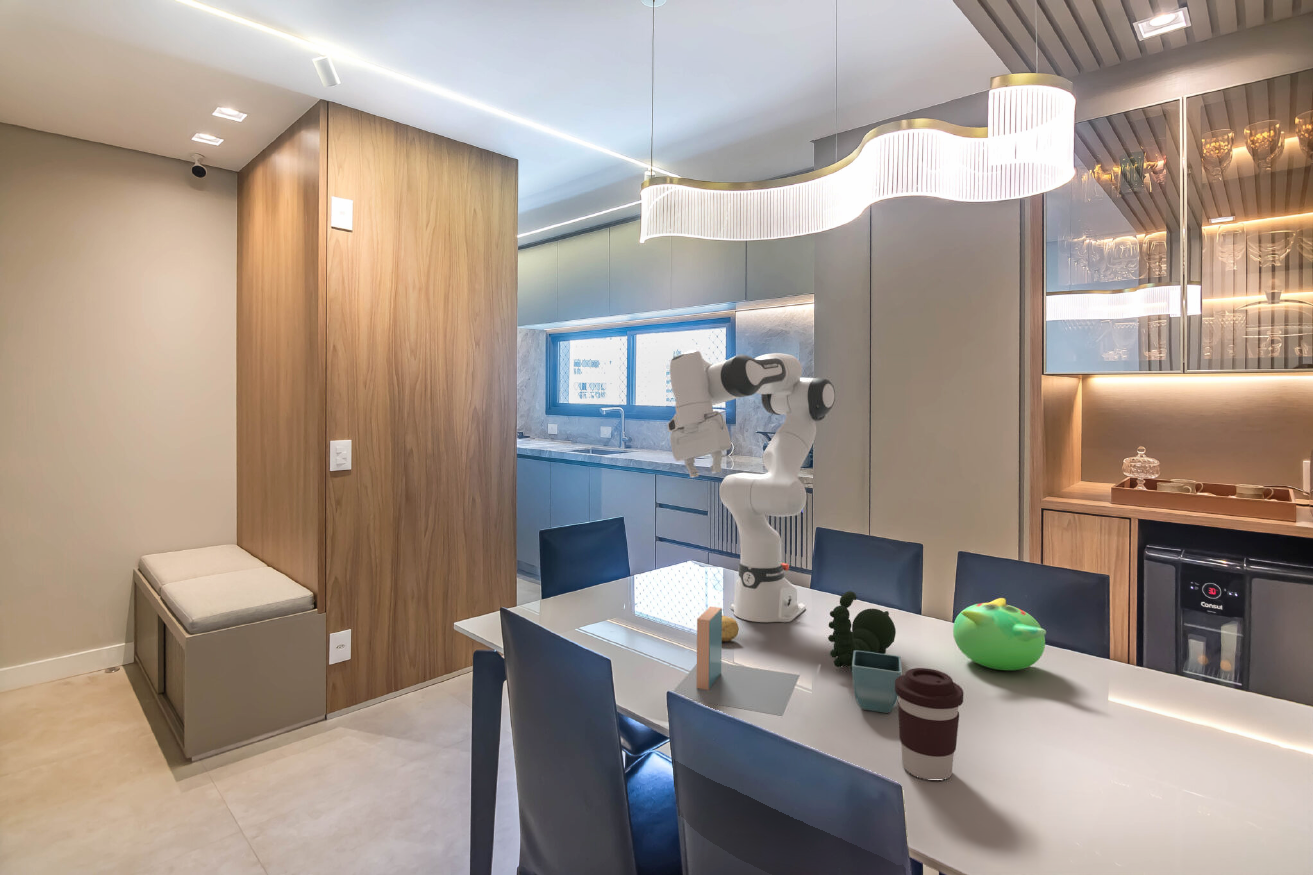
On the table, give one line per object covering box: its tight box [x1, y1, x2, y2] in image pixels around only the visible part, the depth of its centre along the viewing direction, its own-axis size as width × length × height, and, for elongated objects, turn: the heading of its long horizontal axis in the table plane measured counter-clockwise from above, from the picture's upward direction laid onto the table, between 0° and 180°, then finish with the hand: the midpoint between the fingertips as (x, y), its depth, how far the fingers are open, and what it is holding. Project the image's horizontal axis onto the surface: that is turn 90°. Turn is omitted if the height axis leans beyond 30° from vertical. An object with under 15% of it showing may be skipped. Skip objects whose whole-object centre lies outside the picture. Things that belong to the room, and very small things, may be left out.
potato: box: [722, 614, 740, 642], centre depth 160 cm, size 7×11×6 cm, turn 45°
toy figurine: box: [827, 590, 897, 672], centre depth 146 cm, size 9×19×25 cm
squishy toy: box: [952, 597, 1047, 671], centre depth 144 cm, size 18×17×15 cm
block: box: [696, 606, 723, 690], centre depth 134 cm, size 3×9×14 cm, turn 158°
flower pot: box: [851, 650, 903, 714], centre depth 124 cm, size 9×9×9 cm
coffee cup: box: [895, 667, 964, 780], centre depth 102 cm, size 10×10×15 cm
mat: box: [673, 662, 800, 717], centre depth 132 cm, size 22×20×1 cm
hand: (705, 474), depth 155 cm, fingers open, 8 cm apart
